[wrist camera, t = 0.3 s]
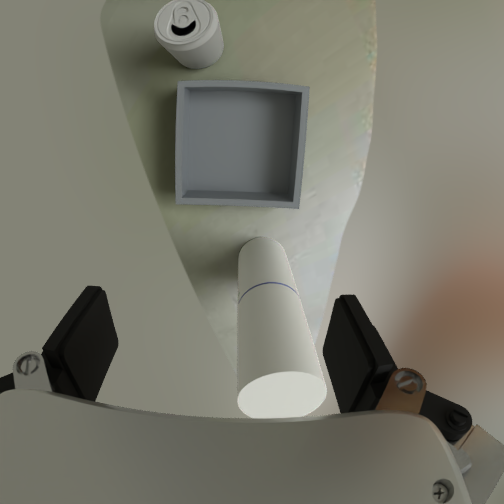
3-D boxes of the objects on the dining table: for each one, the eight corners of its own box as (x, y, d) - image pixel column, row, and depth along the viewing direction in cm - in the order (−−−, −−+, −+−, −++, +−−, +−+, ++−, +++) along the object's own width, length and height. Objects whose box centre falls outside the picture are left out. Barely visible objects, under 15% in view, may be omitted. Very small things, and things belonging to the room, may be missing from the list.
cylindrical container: (295, 250, 43) (344, 383, 20) (270, 287, 45) (293, 427, 23) (253, 228, 41) (267, 360, 19) (229, 267, 44) (222, 410, 21)
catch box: (185, 86, 32) (177, 81, 28) (300, 91, 33) (309, 86, 29) (183, 194, 39) (175, 204, 34) (292, 198, 40) (299, 208, 35)
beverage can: (177, 73, 32) (151, 54, 21) (174, 32, 29) (149, 0, 18) (225, 66, 32) (219, 42, 21) (222, 25, 29) (215, -12, 18)
